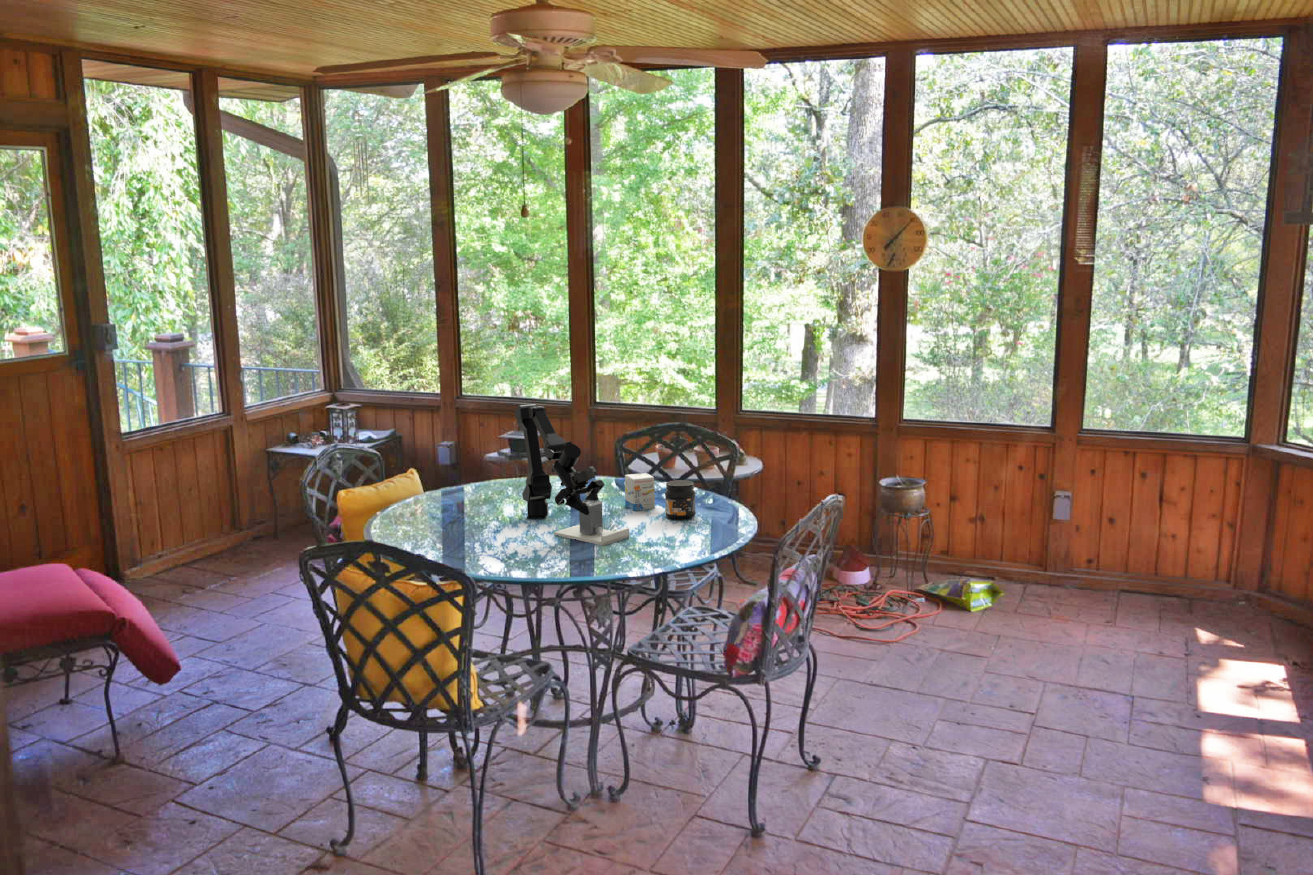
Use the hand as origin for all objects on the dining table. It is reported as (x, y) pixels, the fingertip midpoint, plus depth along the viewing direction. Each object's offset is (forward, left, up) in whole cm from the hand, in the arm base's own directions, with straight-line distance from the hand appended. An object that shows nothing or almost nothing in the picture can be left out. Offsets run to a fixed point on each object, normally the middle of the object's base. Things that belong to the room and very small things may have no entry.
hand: (593, 512), depth 344 cm
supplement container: (+27, +26, -8) cm, 38 cm away
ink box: (+12, +40, -8) cm, 42 cm away
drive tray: (-1, +1, -8) cm, 8 cm away
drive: (-1, +1, -7) cm, 7 cm away
